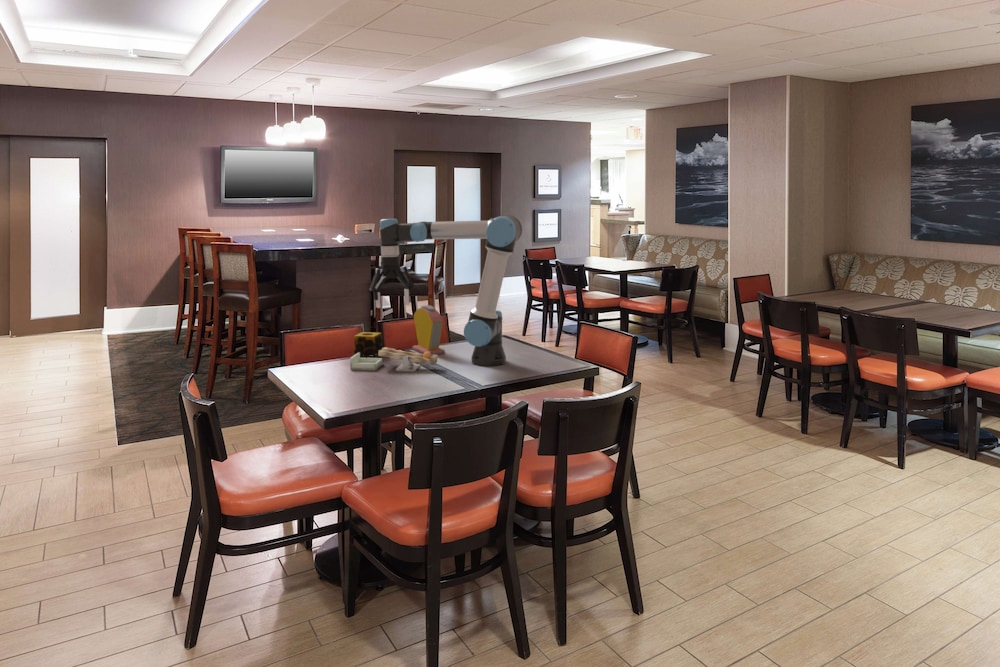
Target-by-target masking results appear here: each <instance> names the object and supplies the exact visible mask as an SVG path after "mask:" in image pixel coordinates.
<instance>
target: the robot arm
mask: <svg viewBox="0 0 1000 667" xmlns="http://www.w3.org/2000/svg"><path fill="white" fill-rule="evenodd" d="M522 233H523V226H522V224H521V221H520V220H519V219H518V218H517V217H516V216H512V215H499V216H496V217H491V218H490V219H489V220H461V221H460V220H456V221H455V220H454V221H452V220H451V221H450V220H449V221H420V222H419V221H418V222H412V223H408V222H407V223H399V221H398V219H397V218H382V219H380V221H379V237H380V238H379V239H380V255H381V257H380V258H381V268H375V269H374V275H373V277H372V280H371V282H370V286H369V289H368V291H369V292H372V293H373V301H375V307H376V308H377V309H381V308H382V307H381V292H380V289H381V288H382V287H383V285H384V284H385V282H386V281H387V280H388V279H396V278H397V280H398V281H399V282H400V283H401V284H402V286H403V287H404V289H403V291H404V293H403V294H404V297H403V298H404V304H405V305H407V306H408V305H410V297H411V290H412V288H415V284H414V282H413V280H412V278H411V276H410V274H409V272H408V267H407V266H405V265H402V266H401V264H400V256H399V255H400V246H399V245H400V244H399V242H401V243H402V242H411V243H412V242H415V243H417V242H418V243H419V242H424V241H426V240H428V241H429V240H472V239H474V240H475V239H476V240H486V241H485V246H484V247H485V248H486V250H487V253H486V258H485V262H484V267H483V271H482V276H481V281H480V283H479V284H480V285H479V289H478V292H477V299H476V302H475V305H474V306H475V307H473V308H472V309H471V310H470V311H469V318H468V321H467V322H466V324H465V325H464V328H463V335H464V336H463V337H464V338H465V340H466V342H468V344H470V345H472V346H474V348H473V352H472V354H471V364H474V365H475V366H476V365H477V366H481V367H483V366H485V367H488V366H489V367H490V366H491V367H494V366H493V365H495V366H500V365H499V364H501V365H503V363H504V364H506V363H505V362H507V356H506V353H505V350H504V347H503V313H502V311H501V310H498V309H497V306H498V303H499V298H500V294H501V290H502V289H501V288H502V285H503V281H504V275H505V273H506V272H505V271H506V268H507V263H508V259H509V256H510V255H512V254H513V253H514V249H515V246H516V242H517V241H519V239H520V238H521V236H522ZM400 272H401V273H402V274H403V276H402V275H401V273H400ZM381 274H382V275H381ZM403 277H404V278H405V279H404V278H403Z"/></svg>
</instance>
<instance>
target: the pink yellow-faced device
mask: <svg viewBox="0 0 1000 667" xmlns="http://www.w3.org/2000/svg"><path fill="white" fill-rule="evenodd" d="M413 321H414V324H415V325H414V326H415V332H416V333H415V334H416V340H417V343H418V344H417V345H416V344H415V345H412V346H411V348H412V350H414V351H416V352H418V353H419V354H424V353H425V352H430V353H431V355H433V354H435V355H438V356H439V355H444V354H445V353H446V351H445V349H443V348H440V342H441V335H442V330H443V325H444V319H443V318H442V315H441V314H440V312H439V311H438V310H437V309H436V308H435V307H434V306H433V305H422V306H420V307H419V308H417V309H416V310H415V312H414V314H413Z"/></svg>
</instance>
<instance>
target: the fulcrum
mask: <svg viewBox="0 0 1000 667" xmlns="http://www.w3.org/2000/svg"><path fill="white" fill-rule="evenodd" d="M410 352H411V353H414V352H413V351H410ZM402 359H403V360H402V363H400V365H399V366H398V367H396V368H395V371H396V372H413V373H414V372H416V371H417V370H418V369H419V368H420V367H421V363H414V362H413V361H409V356H402Z"/></svg>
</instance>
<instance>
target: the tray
mask: <svg viewBox="0 0 1000 667" xmlns="http://www.w3.org/2000/svg"><path fill="white" fill-rule="evenodd" d="M383 361H384V359H383V358H382V357H376V358H360V353H357V354H353V355H352V356H350V357H349V364H350V365H349V366H350V368H349V369H350V371H351V370H353V371H354V370H355V371H377V370H378V369H379V368H381V367H382V366H383V365H384V362H383Z"/></svg>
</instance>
